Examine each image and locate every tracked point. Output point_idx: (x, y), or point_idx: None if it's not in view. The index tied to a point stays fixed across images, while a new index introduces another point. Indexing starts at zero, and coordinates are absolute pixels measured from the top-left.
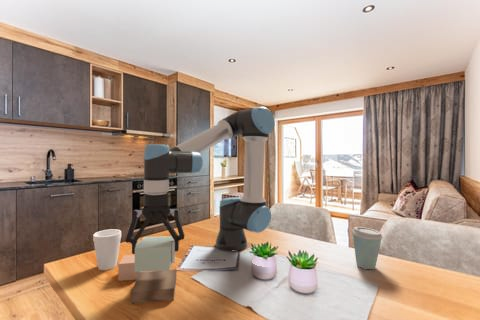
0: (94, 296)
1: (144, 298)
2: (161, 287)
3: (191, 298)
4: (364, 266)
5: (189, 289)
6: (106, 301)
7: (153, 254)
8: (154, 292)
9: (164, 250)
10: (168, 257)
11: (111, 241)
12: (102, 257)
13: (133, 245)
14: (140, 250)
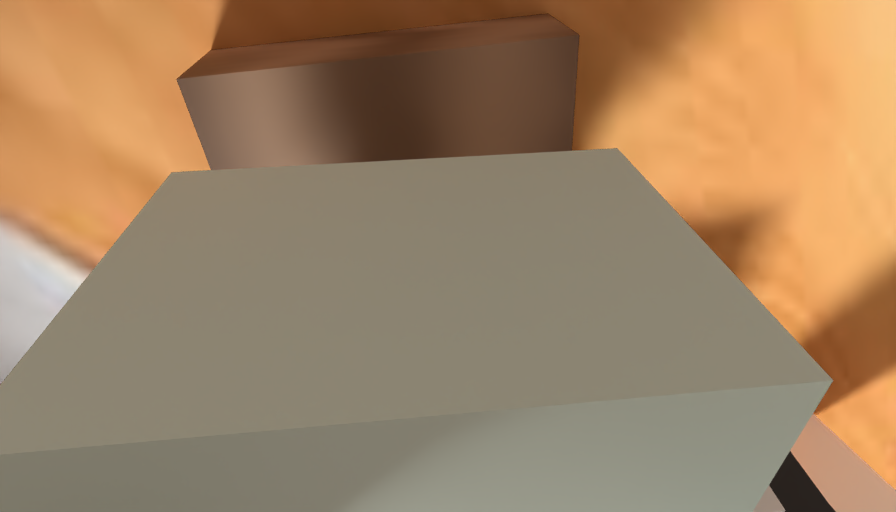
0: (809, 138)
1: (448, 32)
2: (309, 99)
3: (57, 63)
4: None
5: (139, 190)
6: (728, 71)
7: (385, 304)
8: (363, 51)
9: (128, 379)
10: (107, 280)
11: None
12: (833, 457)
13: (797, 499)
14: (674, 350)
